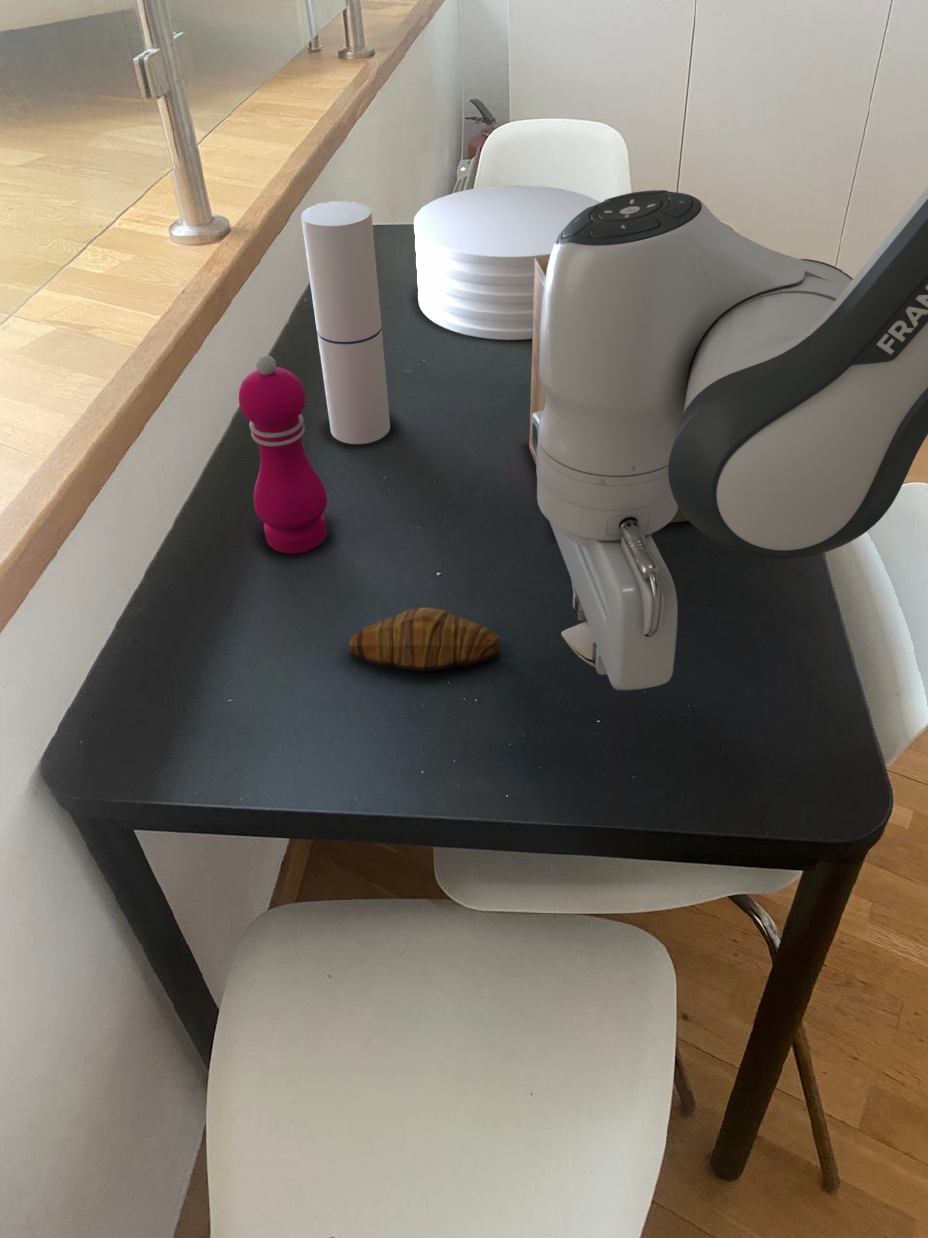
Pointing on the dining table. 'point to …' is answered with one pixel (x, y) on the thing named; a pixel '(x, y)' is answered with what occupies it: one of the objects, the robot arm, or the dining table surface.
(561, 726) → the dining table surface
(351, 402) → the cylindrical container
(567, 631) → the clam shell
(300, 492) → the pepper mill
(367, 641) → the croissant
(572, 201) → the plate stack
